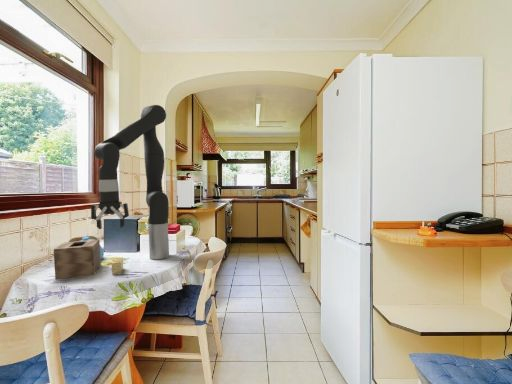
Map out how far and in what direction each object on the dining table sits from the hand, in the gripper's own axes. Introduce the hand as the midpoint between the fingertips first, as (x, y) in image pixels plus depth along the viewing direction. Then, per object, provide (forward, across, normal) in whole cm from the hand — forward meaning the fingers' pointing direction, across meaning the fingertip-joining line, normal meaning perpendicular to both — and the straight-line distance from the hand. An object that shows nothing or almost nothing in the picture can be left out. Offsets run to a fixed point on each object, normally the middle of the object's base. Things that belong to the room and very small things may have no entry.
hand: (111, 228), depth 123 cm
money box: (+19, +14, -4) cm, 24 cm away
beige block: (+19, -2, +1) cm, 19 cm away
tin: (+19, +25, -43) cm, 54 cm away
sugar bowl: (+19, +17, -22) cm, 34 cm away
